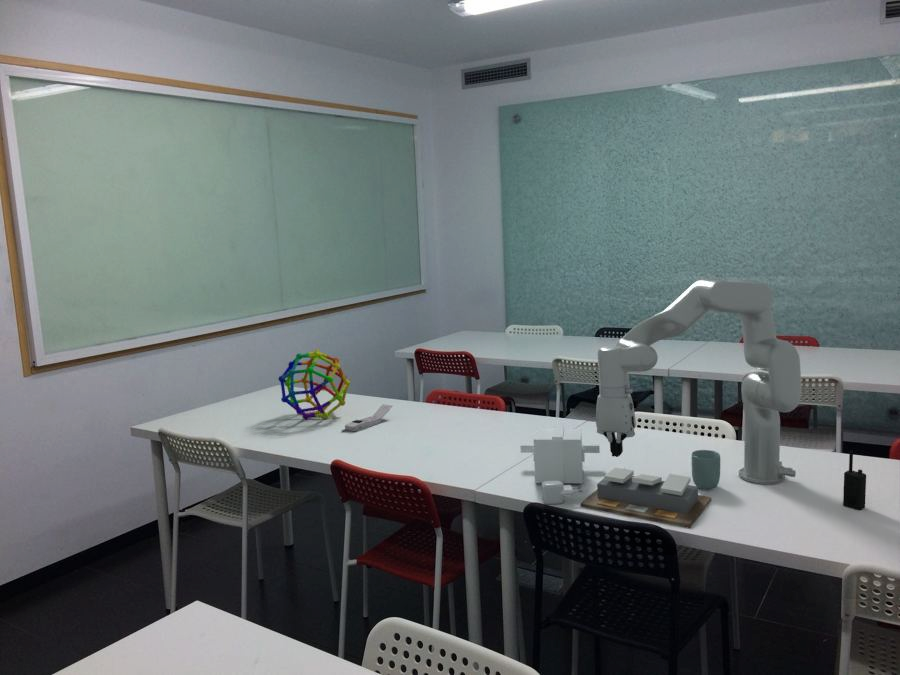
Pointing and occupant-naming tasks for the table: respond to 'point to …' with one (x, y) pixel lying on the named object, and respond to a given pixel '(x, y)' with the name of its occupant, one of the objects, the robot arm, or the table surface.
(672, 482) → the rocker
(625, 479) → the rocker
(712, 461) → the cup
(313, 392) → the geometric model
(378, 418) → the mobile phone
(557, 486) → the power adapter
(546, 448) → the blocky voxel creature
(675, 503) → the switch housing
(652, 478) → the rocker
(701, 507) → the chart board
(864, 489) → the walkie-talkie
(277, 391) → the table surface
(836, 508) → the table surface
